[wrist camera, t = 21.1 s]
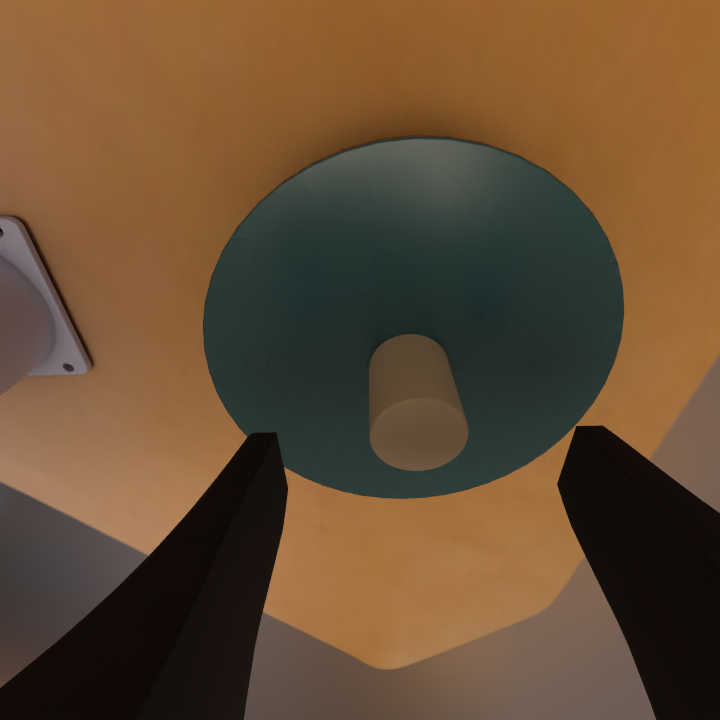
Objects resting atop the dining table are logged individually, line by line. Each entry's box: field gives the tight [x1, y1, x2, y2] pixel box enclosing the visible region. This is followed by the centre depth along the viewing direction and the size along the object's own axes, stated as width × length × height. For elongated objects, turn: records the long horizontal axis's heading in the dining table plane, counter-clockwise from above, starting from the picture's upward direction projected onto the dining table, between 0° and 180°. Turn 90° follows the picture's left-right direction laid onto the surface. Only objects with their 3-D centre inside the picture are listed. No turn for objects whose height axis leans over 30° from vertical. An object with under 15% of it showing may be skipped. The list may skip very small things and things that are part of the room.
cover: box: [203, 135, 624, 499], centre depth 12 cm, size 13×13×4 cm
